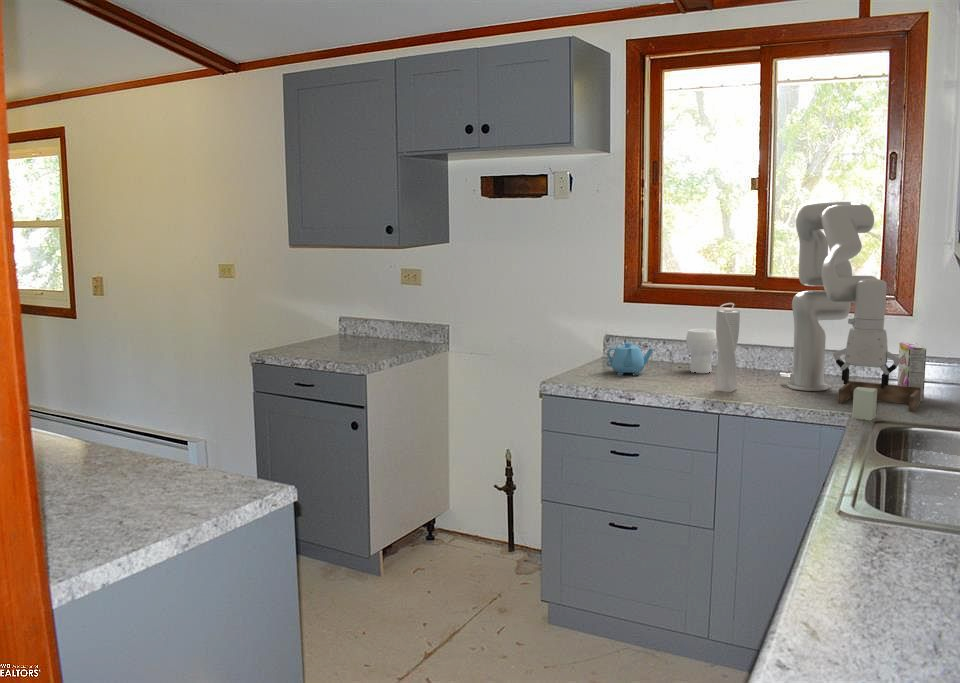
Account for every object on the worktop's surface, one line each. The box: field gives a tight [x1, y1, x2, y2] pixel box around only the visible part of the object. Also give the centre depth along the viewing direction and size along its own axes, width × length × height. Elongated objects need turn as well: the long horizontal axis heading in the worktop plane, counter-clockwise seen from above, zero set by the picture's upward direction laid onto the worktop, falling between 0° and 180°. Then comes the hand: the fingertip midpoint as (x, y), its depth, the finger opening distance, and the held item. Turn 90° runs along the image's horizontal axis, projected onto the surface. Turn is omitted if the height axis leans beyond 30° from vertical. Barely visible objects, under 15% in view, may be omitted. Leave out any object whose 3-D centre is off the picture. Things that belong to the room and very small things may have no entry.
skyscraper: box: [714, 302, 741, 393], centre depth 272 cm, size 8×8×28 cm
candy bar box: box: [897, 341, 927, 403], centre depth 257 cm, size 11×5×16 cm, turn 168°
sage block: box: [851, 387, 877, 421], centre depth 234 cm, size 5×5×8 cm
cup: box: [685, 328, 717, 374], centre depth 305 cm, size 11×11×15 cm
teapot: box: [606, 341, 654, 376], centre depth 304 cm, size 15×14×11 cm
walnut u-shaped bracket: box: [837, 380, 921, 413], centre depth 250 cm, size 20×12×5 cm, turn 54°
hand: (864, 385), depth 234 cm, fingers open, 9 cm apart
